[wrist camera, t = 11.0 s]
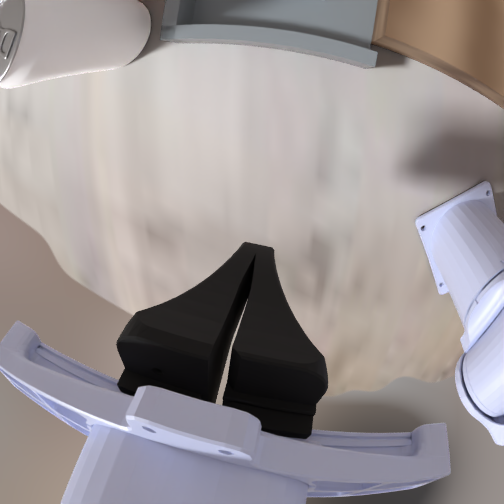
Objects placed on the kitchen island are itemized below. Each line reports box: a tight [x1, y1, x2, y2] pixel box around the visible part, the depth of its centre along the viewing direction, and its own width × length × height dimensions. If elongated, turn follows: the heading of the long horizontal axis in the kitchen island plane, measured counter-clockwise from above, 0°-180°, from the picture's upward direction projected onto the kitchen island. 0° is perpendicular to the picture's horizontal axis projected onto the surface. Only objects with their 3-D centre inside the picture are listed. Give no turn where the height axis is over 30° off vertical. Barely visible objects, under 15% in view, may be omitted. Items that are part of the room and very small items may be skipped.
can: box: [0, 0, 151, 89], centre depth 10 cm, size 6×6×12 cm
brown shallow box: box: [371, 0, 504, 109], centre depth 9 cm, size 13×10×4 cm
